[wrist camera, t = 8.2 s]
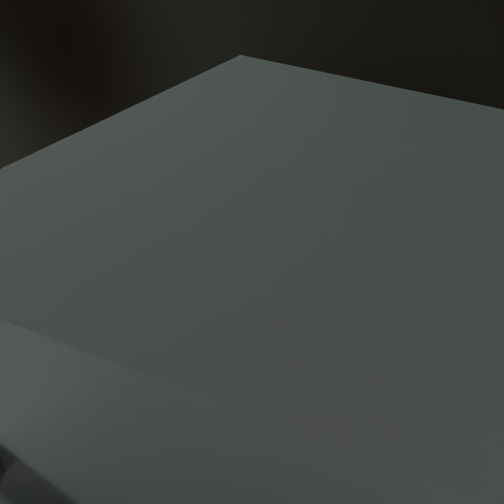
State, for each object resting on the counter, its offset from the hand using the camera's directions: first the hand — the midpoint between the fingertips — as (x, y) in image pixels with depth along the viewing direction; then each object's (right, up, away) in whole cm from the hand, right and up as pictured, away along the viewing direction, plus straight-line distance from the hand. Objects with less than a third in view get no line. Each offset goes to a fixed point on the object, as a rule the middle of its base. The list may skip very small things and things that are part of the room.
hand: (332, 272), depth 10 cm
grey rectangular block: (+1, +1, +2) cm, 2 cm away
